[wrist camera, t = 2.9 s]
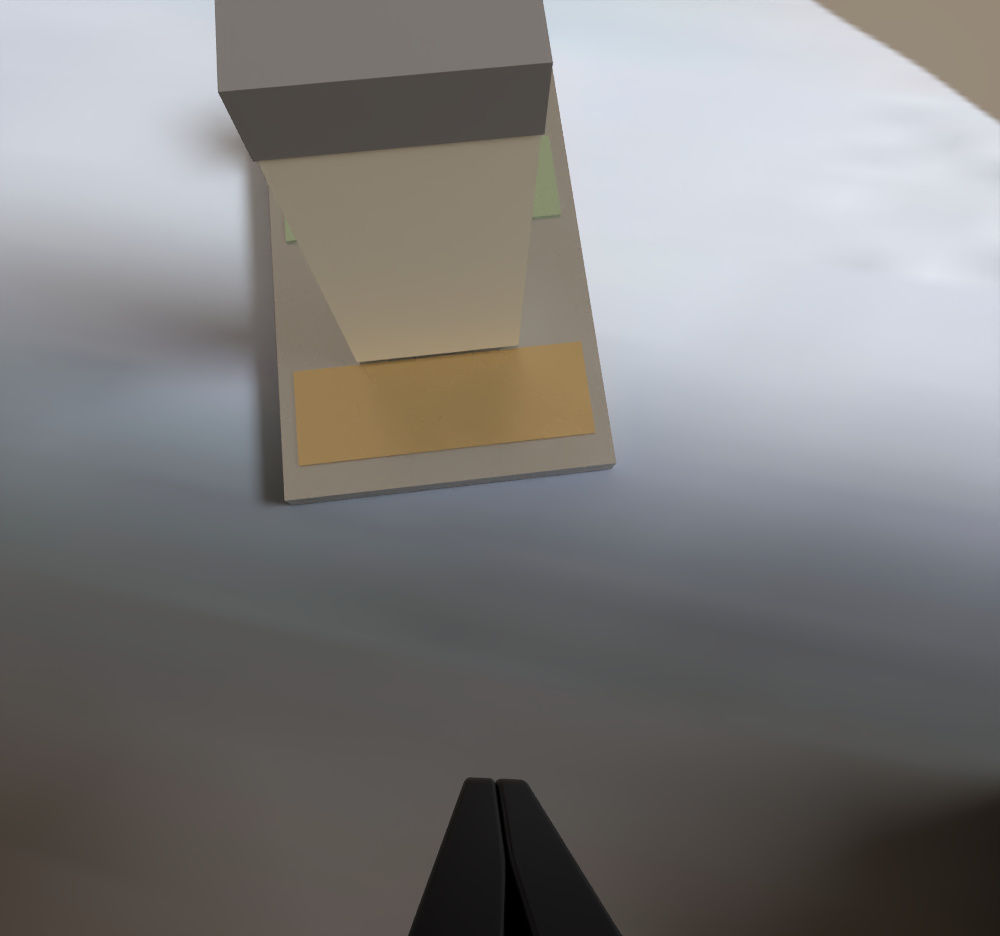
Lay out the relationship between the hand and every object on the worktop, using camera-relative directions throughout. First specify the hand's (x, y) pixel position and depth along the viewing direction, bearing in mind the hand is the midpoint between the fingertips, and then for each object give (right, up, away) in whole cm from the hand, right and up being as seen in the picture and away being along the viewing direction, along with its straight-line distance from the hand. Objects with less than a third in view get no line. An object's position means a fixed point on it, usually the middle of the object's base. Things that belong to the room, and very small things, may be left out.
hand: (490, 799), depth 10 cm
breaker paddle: (-2, +9, +12) cm, 15 cm away
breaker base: (-2, +12, +14) cm, 18 cm away
